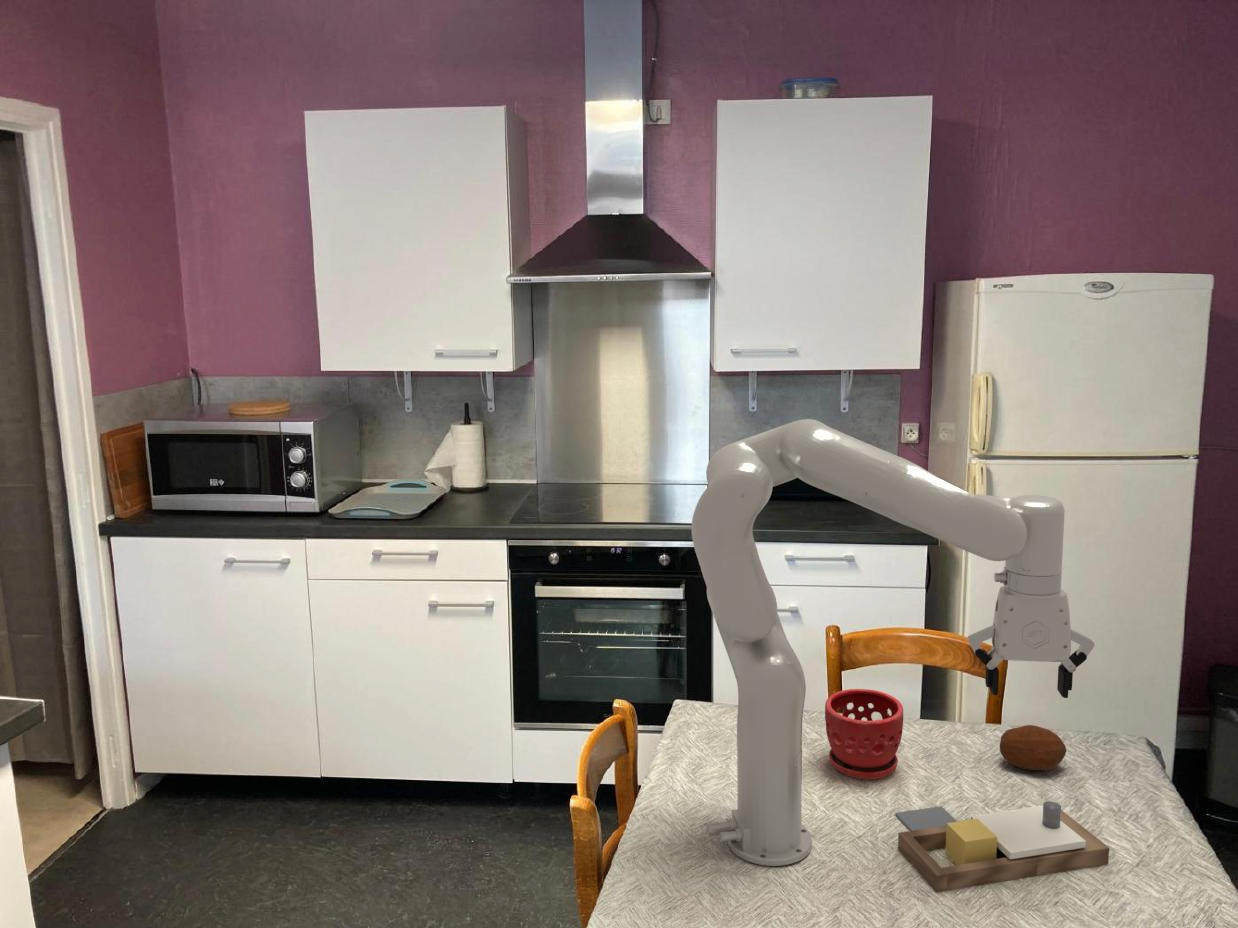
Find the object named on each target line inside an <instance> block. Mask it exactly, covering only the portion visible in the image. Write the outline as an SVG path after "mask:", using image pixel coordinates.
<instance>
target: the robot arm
mask: <svg viewBox="0 0 1238 928" xmlns="http://www.w3.org/2000/svg"><path fill="white" fill-rule="evenodd" d="M705 472H706V474H705V475H706V481H707V485H708V486H707V487H706V488H705V490H704V491H703V492H702V494H701V495H700V498H699V499H698V501H697V503H696V506H695V507H694V508H695V509H694V511H693V516H692V520H691V539H692V544H693V548H694V553H695V554H696V557H697V561H698V565H699V566H700V571H701V573H702V574H701V575H702V577H703V580H704V582H705V585H706V586H705V587H706V597H707V601H708V604H709V607H710V609H711V613H712V615H713V618H714V621H715V623H716V626H717V629H718V632H719V634H720V637H721V641H722V642H723V646H724V648H725V652H726V653H727V656H728V659H729V662H730V664H731V668H732V670H733V674H734V677H735V679H736V684H737V685H736V686H737V694H738V695H737V697H738V701H737V702H738V703H737V717H736V750H737V756H736V757H737V758H736V759H737V762H736V763H737V764H736V765H737V766H736V767H737V770H736V771H737V782H736V783H737V785H736V786H737V809H731V817H726V818H725V820H722V821H718V820H717V821H711V822H706V824H705V828H706V834H707V836H708V837H713V836H719V841H720V843H727V845H728V847H729V849H730V850H731V851H732V853H734V854H735V855H736V856H738V857H739V858H740V859H742V860H744V861H747V862H749V863H753V864H756V865H760V866H761V865H762V866H768V867H769V866H770V867H779V866H787V865H791V864H792V865H793V864H795V863H797V862H800V861H802V860H803V859H804V858H806V857H807V856H808V855H809V853H810V852H811V850H812V845H813V843H812V842H813V839H812V835H811V833H810V831H809V830H808V828H807V827H805V826H804V825H803V824H802V801H803V800H802V792H803V790H802V789H803V788H802V787H803V786H802V785H803V783H802V782H803V781H802V779H803V777H802V776H803V773H802V772H803V766H802V764H803V759H802V758H803V747H802V746H803V717H804V709H805V708H804V707H805V701H806V691H807V690H806V688H807V687H806V678H805V673H804V670H803V666H802V664H801V662H800V660H799V658H798V656H797V654H796V652H795V650H794V649H793V647H792V645H791V644H790V641H789V640H788V638H787V636H786V632H785V630H784V627H783V625H782V622H781V619H780V617H779V613H778V603H777V598H776V595H775V592H774V589H773V586H772V585H771V584H770V582H769V580H768V578H767V576H766V575H767V574H766V573H765V569H764V567H763V564H762V562H761V559H760V555H759V552H758V548H757V545H756V542H755V538H754V534H753V527H754V524H755V521H756V518H757V516H758V515H759V514H760V513H761V511H762V510H763V509H764V507H765V506H766V505H767V504H768V502H769V500H770V498H771V496H772V492H773V487H776V486H779V485H780V486H781V484H784V483H785V484H786V483H787V482H790V481H793V480H795V479H797V478H798V479H799V480H801V481H802V482H804V483H806V484H808V485H810V486H812V487H815V488H817V489H819V490H822V491H824V492H827V493H829V494H832V495H834V496H837V497H840V498H841V499H844V500H847V501H849V502H851V503H854V504H856V505H859V506H861V507H863V508H866V509H868V510H870V511H873V512H875V513H877V514H880V515H881V516H884V517H886V518H888V519H890V520H892V521H893V522H894V521H895V522H897V523H899V524H902V525H904V526H907V527H909V528H912V529H914V530H917V531H920V532H922V533H924V534H927V535H929V536H931V537H933V538H935V539H937V540H939V541H941V542H944V543H946V544H948V545H951V546H953V547H956V548H958V549H961V550H962V551H965V552H968V553H970V554H973V555H975V556H977V557H980V558H982V559H986V560H987V561H993V562H1003V561H1004V563H1005V565H1004V566H1003V569H1002V571H1000V572H994V574H993V575H994V577H993V578H994V579H993V580H994V582H995V583H1000V584H1003V585H1002V586H1000V587H999V591H998V595H997V598H996V603H995V608H994V614H993V623H992V625H989V626H987V627H985V628H983V629H981V630H979V631H976V632H974V633H972V634H969V635H968V636H967V637H966V639H967V642H968V643H969V646H970V647H971V649H972V650H973V653H974V654H975V656H976V657H977V659H978V660H979V661H981V662H982V663H983V664H984V666H985V678H984V679H985V680H984V682H985V686H986V688H989V690H990V691H991V694H992V696H998V695H999V684H1000V683H999V682H1000V681H999V680H1000V670H999V669H998V668H999V667H998V666H999V665H1000V664H1001V662H1003V661H1004V660H1006V661H1014V662H1015V661H1017V662H1019V661H1020V662H1041V663H1042V662H1044V663H1045V662H1049V663H1058V662H1060V663H1061V664H1060V663H1059V666H1058V669H1057V688H1056V689H1057V691H1058V692H1059V694H1060V696H1061V698H1064V699H1068V698H1069V691H1072V689H1073V677H1074V676H1073V675H1074V673H1075V672H1076V671H1077V668H1078V667H1079V666H1081V665H1082V664H1083V663H1084V662H1085V661H1086V660H1087V659H1088V655H1090V653H1091V652H1092V651H1093V649H1094V647H1095V642H1094V641H1093V640H1092V639H1091V638H1090V637H1087V636H1086V635H1084V634H1082V633H1079V632H1077V631H1075V630H1073V629H1072V628H1071V614H1070V604H1069V598H1068V593H1067V592H1065V590H1063V589H1062V577H1063V576H1062V575H1063V573H1062V572H1063V551H1064V531H1065V506H1064V505H1063V502H1061V501H1060V500H1059V499H1057V498H1054V497H1052V496H1048V495H1039V494H1036V495H1035V494H1034V495H1033V494H1025V495H1019V496H1016V497H1009V496H996V495H989V494H976V493H975V494H973V493H970V492H968V491H966V490H964V489H961V488H960V487H958V486H956V485H953V484H951V483H949V482H947V481H945V480H943V479H941V478H940V477H938V476H936V475H934V474H933V473H931V472H929V471H928V470H927V469H925V468H923V467H921V466H920V465H918V464H916V463H914V462H912V461H910V460H907V459H906V458H904V457H901V456H898V455H895V454H894V453H892V452H890V451H886V450H884V449H881V448H879V447H876V446H874V445H872V444H871V443H867V442H866V441H863V440H860V439H858V438H855V437H853V436H851V435H848V434H846V433H844V432H842V431H839V430H838V429H835V428H832V427H830V426H828V425H826V424H825V423H823V422H821V421H819V420H817V419H813V418H812V419H811V418H806V419H798V420H796V421H795V420H794V421H791V422H788V423H786V424H782V425H780V426H776V427H775V428H771V429H769V430H766V431H764V432H760V433H758V434H755V435H751V436H749V437H745V438H744V439H740V440H738V441H735V442H732V443H729V444H727V445H725V446H722V447H721V448H720V449H717V451H715V453H714V454H713V455H712V456H711V457H710V459H709V461H708V463H707V467H706V471H705ZM990 639H991V643H992V646H993V647H992V648H991V649H990V650H988V652H986V651H985V650H984V649H983V648H982V645H981V644H982V643H983V642H985V641H988V640H990ZM1071 641H1072V642H1074V643H1076V644H1078V645H1079V647H1078V648H1077V650H1075V651H1074V652H1073V653H1071V651H1072V642H1071Z"/></svg>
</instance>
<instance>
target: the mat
mask: <svg viewBox="0 0 1238 928" xmlns="http://www.w3.org/2000/svg"><path fill="white" fill-rule="evenodd" d="M894 814H895V815H894V816H895V817H896V818H897V819H898V820H899V821H900V822H901V823H902V825H904V826H905V828H906V829H908V830H909V831H914V830H920V829H927V828H934V827H940V826H946V824H947V823H951V822H958V821H957V819H956V818H955V817H953V816H952V815H951V814H950V813H949V812H948V811H947V810H946V809H945V808H944V807H943V806H942V805H940V806H935V807H927V808H920V809H913V810H906V811H897V812H895V813H894Z"/></svg>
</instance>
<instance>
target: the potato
mask: <svg viewBox="0 0 1238 928" xmlns="http://www.w3.org/2000/svg"><path fill="white" fill-rule="evenodd" d="M999 752H1000V754H1001V757H1002V758H1003V759H1004V760H1005V761H1006V762H1008V764H1010V765H1012V766H1013V767H1016V768H1019V769H1022V770H1023V769H1024V770H1028V771H1029V770H1031V771H1051V770H1053V769H1055V768H1056V767H1057V766H1058V765H1059V764H1060V763H1061V762H1062V761H1063V760H1064V759H1065V757H1066V753H1067V747H1066V744H1065V743H1064V741H1063V740H1062V739H1061V737H1060V736H1059V735H1057V734H1056V733H1054V732H1053V731H1052V730H1050V729H1047V728H1044V727H1041V726H1038V725H1033V724H1032V725H1031V724H1027V725H1021V726H1019V727H1014V728H1010V729H1006V730H1005V731H1004V733H1003V734H1002V735H1001V737H1000V742H999Z"/></svg>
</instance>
